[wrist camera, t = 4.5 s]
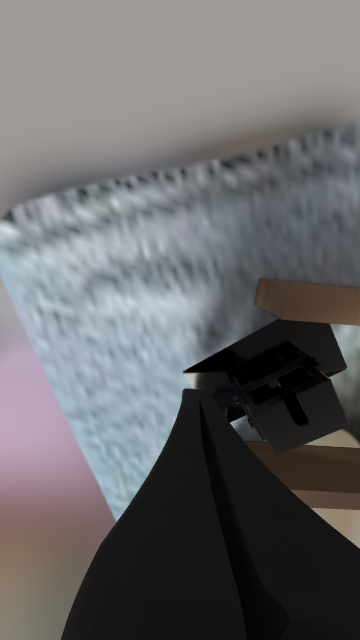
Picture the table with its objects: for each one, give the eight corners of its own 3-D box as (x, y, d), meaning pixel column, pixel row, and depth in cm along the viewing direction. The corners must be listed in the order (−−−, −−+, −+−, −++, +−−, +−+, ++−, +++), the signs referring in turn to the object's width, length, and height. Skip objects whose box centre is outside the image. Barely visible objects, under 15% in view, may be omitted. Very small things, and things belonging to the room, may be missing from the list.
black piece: (329, 271, 11) (437, 276, 6) (363, 364, 13) (464, 418, 8) (155, 369, 13) (142, 427, 8) (206, 438, 14) (219, 516, 10)
